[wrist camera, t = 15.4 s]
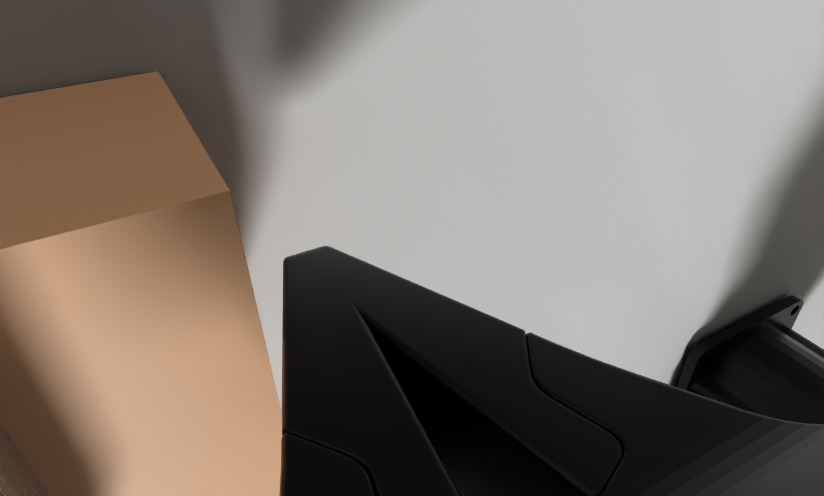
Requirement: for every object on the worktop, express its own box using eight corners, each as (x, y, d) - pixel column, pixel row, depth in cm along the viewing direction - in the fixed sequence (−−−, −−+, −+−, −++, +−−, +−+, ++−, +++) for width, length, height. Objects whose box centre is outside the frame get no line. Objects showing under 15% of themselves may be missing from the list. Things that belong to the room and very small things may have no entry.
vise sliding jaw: (158, 71, 8) (230, 190, 5) (230, 329, 11) (301, 497, 8) (-50, 106, 7) (-98, 274, 4) (87, 378, 10) (112, 588, 7)
